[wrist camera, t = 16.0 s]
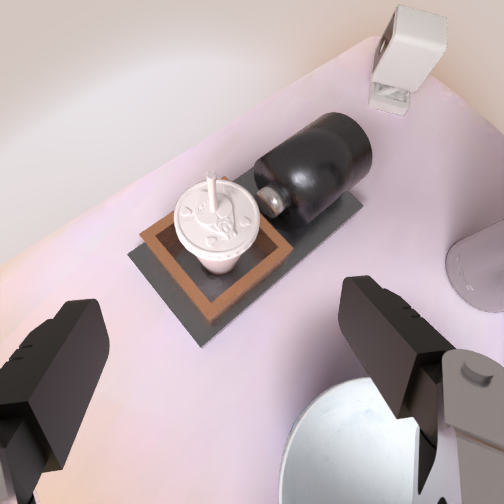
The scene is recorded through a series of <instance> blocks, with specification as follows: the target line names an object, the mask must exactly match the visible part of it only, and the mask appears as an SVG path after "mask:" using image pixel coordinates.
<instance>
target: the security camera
mask: <svg viewBox="0 0 504 504" xmlns="http://www.w3.org/2000/svg"><path fill="white" fill-rule="evenodd" d="M446 47H447V17H444V16H440V15H437V14H433V13H429V12H425V11H422V10H418V9H414V8H411V7H407V6H403V5H397V7H396V9H395V11H394V13H393V15H392V17H391V19H390V21H389V23H388V25H387V27H386V29H385V31H384V33H383V35H382V37H381V39H380V41H379V43H378V45H377V47H376V50H375V52H374V56H373V62H372V69H371V77H370V81H371V85H370V92H369V99H368V107H371V108H375V109H378V110H382V111H386V112H390V113H393V114H397V115H401V116H403V115H404V114H405V113H406V111H407V110H408V109H409V97H408V96H409V95H410V92H412V93H415V92H416V91H417V90H418V88H419V87H420V85H421V84H422V83H423V81H424V80H425V79H426V77H427V76H428V74H429V73H430V72H431V70H432V69H433V67H434V66H435V65H436V63H437V62H438V61H439V59H440V58H441V57H442V55H443V54H444V52H445V50H446ZM394 98H396V99H397V100H395V99H394ZM398 100H400V101H398Z"/></svg>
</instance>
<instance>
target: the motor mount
mask: <svg viewBox="0 0 504 504" xmlns="http://www.w3.org/2000/svg"><path fill="white" fill-rule="evenodd" d="M371 164H372V149H371V145H370V142H369V139H368V137H367V135H366V134H365V132H364V131H363V129H362V128H361V127H360V125H359V124H358V123H357V122H356V121H354V120H353V119H352V118H350V117H348V116H346V115H344V114H341V113H336V112H332V113H327V114H324V115H323V116H321V117H320V118H318V119H317V120H315V121H314V122H312V123H311V124H309V125H308V126H306V127H305V128H303V129H302V130H301V131H299V132H298V133H296V134H295V135H293V136H292V137H290V138H289V139H287V140H286V141H284V142H283V143H282V144H280V145H279V146H277V147H276V148H274V149H273V150H271V151H270V152H268V153H267V154H265V155H264V156H262V157H261V158H260V159H258V160H257V161H256V163H255V165H254V167H253V168H252V169H250V170H249V171H247V172H246V173H244V174H243V175H241V176H240V177H239V178H237V179H236V180H234V181H233V182H234V183H236V184H239V185H240V186H242V187H243V188H245V189H246V190H247V191H248V192H249V193H250V194H251V195H252V196H253V198H254V199H255V201H256V203H257V205H258V208H259V212H260V223H259V231H258V234H257V237H256V239H255V241H254V242H253V244H252V245H251V246H250V248H248V249H247V250H246V251H245V252H243V253H242V255H241V256H240V258H239V260H238V261H237V263H236V265H235V266H234V268H233V269H232V270H231V271H229V272H228V273H225V274H221V275H218V274H213V273H210V272H209V271H207V270H206V269H205V267H204V266H203V265H202V263H201V262H200V261H199V259H198V258H197V256H196V255H194V254H193V253H191V252H190V251H188V250H187V249H186V248H185V246H184V245H183V244H182V243H181V242H180V240H179V238H178V235H177V233H176V228H175V224H174V211H175V210H174V211H173V212H171V213H170V214H168V215H167V216H165V217H164V218H162V219H161V220H159V221H158V222H156V223H155V224H153V225H152V226H150V227H149V228H147V229H146V230H145V231H143V232H142V233H140V234H139V235H140V236H141V238H142V239H143V241H144V243H143V244H141V245H140V246H138V247H137V248H135V249H134V250H133V251H131V252H130V253H128V254H127V255H128V256H129V257H130V259H131V260H132V261H133V262H134V264H135V265H136V266H137V267H138V269H139V270H140V271H141V273H142V274H143V275H144V276H145V278H146V279H147V280H148V281H149V283H150V284H151V285H152V286H153V288H154V289H155V290H156V292H157V293H158V294H159V295H160V297H161V298H162V299H163V300H164V302H165V303H166V304H167V306H168V307H169V308H170V309H171V311H172V312H173V313H174V314H175V316H176V317H177V318H178V319H179V321H180V322H181V323H182V325H183V326H184V327H185V328H186V330H187V331H188V332H189V333H190V335H191V336H192V337H193V338H194V340H195V341H196V342H197V344H198V345H199V346H200V347H201V348H203V347H204V346H205V345H207V344H208V343H209V342H210V341H211V340H212V339H213V338H215V337H216V336H217V335H218V334H219V333H220V332H221V331H223V330H224V329H225V328H226V327H227V326H228V325H229V324H231V323H232V322H233V321H234V320H235V319H236V318H238V317H239V316H240V315H241V314H242V313H243V312H244V311H246V310H247V309H248V308H249V307H250V306H251V305H252V304H254V303H255V302H256V301H257V300H258V299H259V298H260V297H262V296H263V295H264V294H265V293H266V292H267V291H268V290H270V289H271V288H272V287H273V286H274V285H275V284H276V283H278V282H279V281H280V280H281V279H282V278H283V277H284V276H286V275H287V274H288V273H289V272H290V271H291V270H292V269H294V268H295V267H296V266H297V265H298V264H299V263H301V262H302V261H303V260H304V259H305V258H306V257H307V256H309V255H310V254H311V253H312V252H313V251H314V250H315V249H317V248H318V247H319V246H320V245H321V244H322V243H323V242H325V241H326V240H327V239H328V238H329V237H330V236H331V235H333V234H334V233H335V232H336V231H337V230H338V229H339V228H341V227H342V226H343V225H344V224H345V223H346V222H347V221H349V220H350V219H351V218H352V217H353V216H354V215H355V214H357V213H358V211H359V210H360V209H361V208H362V207H363V205H362V204H361V203H360V202H359V201H358V200H357V199H356V198H355V197H354V196H353V195H352V194H351V193H350V192H348V190H349V189H350V188H352V187H353V186H354V185H355V184H357V183H358V182H359V181H360V180H361V179H363V178H364V177H365V176H366V175H367V173H368V172H369V170H370V168H371ZM222 180H228V179H227V178H226V177H223V178H222ZM228 181H229V180H228Z"/></svg>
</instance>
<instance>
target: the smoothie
mask: <svg viewBox="0 0 504 504" xmlns="http://www.w3.org/2000/svg"><path fill="white" fill-rule="evenodd" d="M259 223H260V212H259V208H258V205H257V203H256V201H255V199H254V198H253V196H252V195H251V194H250V193H249V192H248V191H247V190H246V189H245V188H243V187H242V186H240V185H239V184H236V183H234V182H231V181H228V180H222V179H216V173H215V172H214V171H209V172H207V180H205V181H202V182H199V183H197V184H195V185H193V186H191V187H190V188H189V189H187V190H186V191H185V192H184V193H183V194H182V196H181V197H180V198H179V200H178V202H177V204H176V207H175V211H174V224H175V228H176V233H177V235H178V238H179V240H180V242H181V243H182V244H183V245H184V246H185V248H186V249H187V250H188V251H190V252H191V253H193V254H194V255H196V256H197V258H198V259H199V261H200V262H201V263H202V265H203V266H204V267H205V269H206V270H207V271H209V272H210V273H213V274H218V275H221V274H225V273H228V272H229V271H231V270H232V269H233V268H234V266H235V265H236V263H237V261H238V260H239V258H240V256H241V255H242V253H243V252H245V251H246V250H247V249H248V248H250V246H251V245H252V244H253V242H254V241H255V239H256V237H257V234H258V231H259Z"/></svg>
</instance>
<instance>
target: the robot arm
mask: <svg viewBox="0 0 504 504" xmlns="http://www.w3.org/2000/svg"><path fill="white" fill-rule="evenodd" d="M446 269H447V273H448V277H449V279H450V282H451V284H452V286H453V287H454V289H455V290H456V292H457V293H458V294H459V295H460V296H461V297H462V298H463V299H464V300H465V301H466V302H468V303H469V304H470V305H472V306H474V307H475V308H477V309H480V310H483V311H486V312H493V313H497V312H504V219H503V220H501V221H499V222H497V223H495V224H493V225H491V226H489V227H486V228H484V229H482V230H480V231H478V232H476V233H474V234H472V235H470V236H468V237H466V238H464V239H462V240H460V241H458V242H457V243H455V244H454V245H453V246H452V247H451V248H450V250H449V252H448V254H447V259H446ZM338 321H339V326H340V329H341V331H342V333H343V335H344V336H345V338H346V340H347V341H348V343H349V344H350V346H351V348H352V349H353V351H354V352H355V354H356V356H357V357H358V359H359V360H360V362H361V364H362V365H363V367H364V368H365V370H366V372H367V373H368V375H369V376H370V378H371V380H372V381H373V383H374V384H375V386H376V387H377V389H378V391H379V392H380V394H381V395H382V397H383V399H384V400H385V402H386V403H387V405H388V407H389V408H390V410H391V411H392V413H393V415H394V416H395V418H396V419H403V418H410V417H413V418H414V419H415V421H416V422H417V424H418V426H417V429H416V433H415V454H414V476H413V497H412V504H504V367H503V366H501V365H500V364H498V363H497V362H495V361H494V360H492V359H490V358H488V357H486V356H484V355H482V354H479V353H476V352H473V351H469V350H463V349H456V348H455V347H454V346H453V345H452V344H451V343H450V342H448V341H447V340H446V339H445V338H444V337H443V336H442V335H441V334H440V333H439V332H438V331H437V330H436V329H434V328H433V327H432V326H431V325H430V324H429V323H428V322H427V321H426V320H425V319H424V318H423V317H420V315H419V314H418V313H417V312H416V311H415V310H414V309H411V306H410V305H409V304H408V303H407V302H406V301H404V300H403V299H402V298H401V297H400V296H398V295H397V294H395V293H393V292H391V291H389V290H387V289H385V288H384V289H382V288H381V287H380V286H379V285H378V284H377V283H376V282H375V281H374V280H373V279H372V278H371V277H370V276H367V275H366V276H355V277H346V278H345V279H344V281H343V285H342V292H341V299H340V306H339V313H338ZM109 347H110V345H109V337H108V333H107V330H106V326H105V323H104V319H103V316H102V312H101V309H100V306H99V303H98V301H97V300H96V299H84V300H72V301H67V302H65V304H64V305H63V306H62V307H61V309H60V310H59V311H58V313H57V314H56V315H55V317H54V318H53V319H48V320H46V321H45V322H43V323H42V324H41V325H39V326H38V327H37V328H35V329H34V330H33V331H31V332H30V333H29V334H28V336H27V337H26V338H25V339H24V341H23V342H22V343H21V344H20V346H19V349H16V351H15V352H14V353H13V354H12V355H11V357H10V358H9V361H8V362H6V363H5V364H4V365H3V367H2V368H1V369H0V504H40V501H39V497H38V494H37V492H36V490H35V487H36V485H37V483H38V480H39V478H40V476H41V474H42V473H44V472H50V471H57V470H63V467H64V465H65V462H66V460H67V457H68V455H69V452H70V450H71V447H72V445H73V442H74V440H75V437H76V435H77V433H78V430H79V428H80V425H81V423H82V420H83V418H84V415H85V413H86V410H87V408H88V405H89V403H90V400H91V398H92V395H93V393H94V391H95V388H96V386H97V383H98V381H99V378H100V376H101V373H102V371H103V368H104V366H105V363H106V361H107V358H108V355H109Z"/></svg>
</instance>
